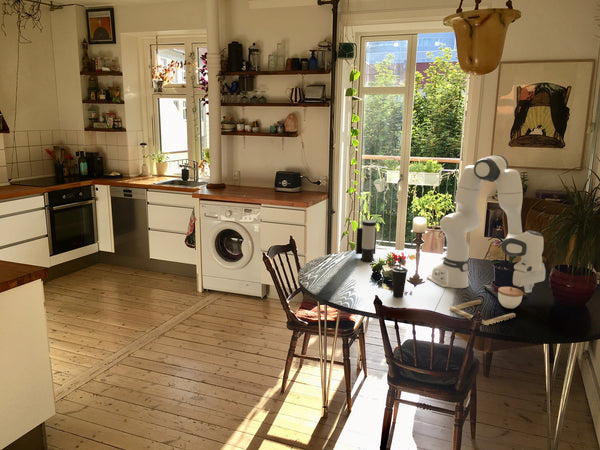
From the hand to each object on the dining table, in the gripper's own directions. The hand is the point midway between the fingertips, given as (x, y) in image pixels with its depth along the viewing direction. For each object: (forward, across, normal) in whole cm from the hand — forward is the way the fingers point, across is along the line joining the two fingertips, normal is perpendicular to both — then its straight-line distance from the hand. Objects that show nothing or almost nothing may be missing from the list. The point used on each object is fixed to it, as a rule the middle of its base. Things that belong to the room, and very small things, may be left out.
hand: (527, 292), depth 237 cm
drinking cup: (+4, +51, -35) cm, 62 cm away
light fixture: (+4, +27, -91) cm, 95 cm away
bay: (+5, +32, 0) cm, 32 cm away
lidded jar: (+5, +13, 0) cm, 14 cm away
